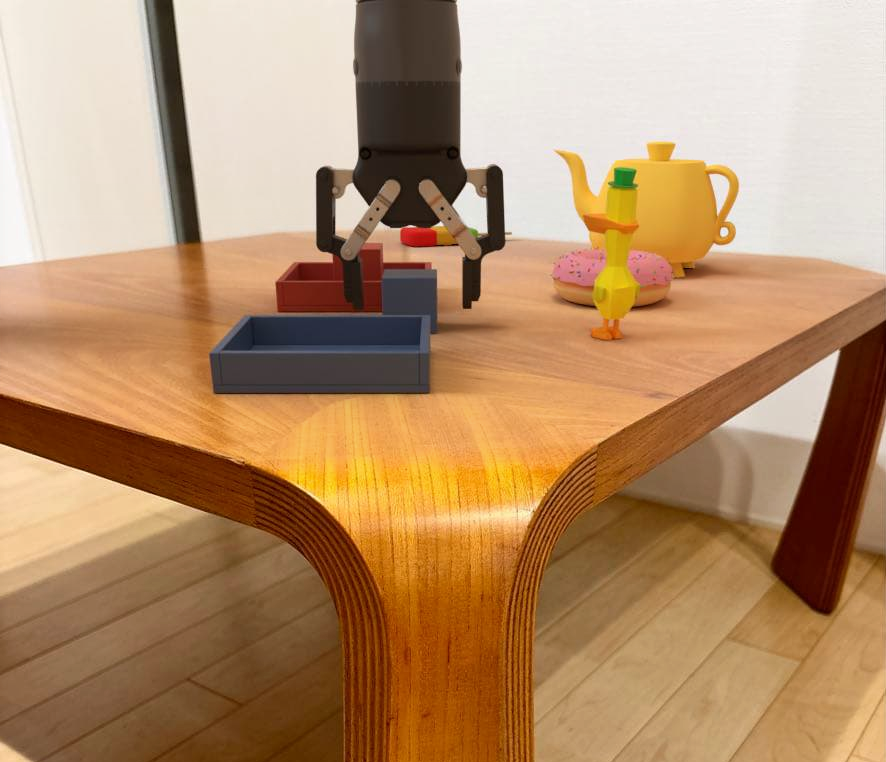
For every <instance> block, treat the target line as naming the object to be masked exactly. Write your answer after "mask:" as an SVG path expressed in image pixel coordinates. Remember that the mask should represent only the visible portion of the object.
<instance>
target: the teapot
mask: <svg viewBox="0 0 886 762" xmlns="http://www.w3.org/2000/svg"><path fill="white" fill-rule="evenodd" d="M675 148H676V143H675V142H672V141H650V142H647V143H646V149H647V154H648V157H649V158H623V159H617V160H614V162H613V163H612V164H611V166H610V168H609V169H608V171H607V173H606V177H605V178H604V181H603V183H602V185H601V187H600V190H599V192H598V195H595V194H594V193H593V192H592V191H591V188H590V186H589V183H588V178H587V170H586V166H585V163H584V161H583V159H582V158H581V156H580V155H579V154H577V153H575V152H571V151H565V150H560V149H553V151H554V152H555V153H556V154H558V155H559V156H560V157H561V158H562V159H563V160H564V162H565V163H566V164H567V166H568V169H569V171H570V176H571V185H572V196H573V197H572V198H573V204H574V207H575V212H576V213H577V215H578V217H579V218H580V220H581V221H582V223H584V217H583V215H587V214H606V202H607V190H608V189H609V188H610V187H611V185H608V182H611V181H614V168H618V167H623V168H632V169H635V170H637V172H636V175H635V178H634V181H633V183H635V184H638V187H636V189H637V190H638V193H637V205H636V217H635V219H636V221H637V222H638V224H639V228H638V229H637V230H636V231H635V232H634V233H633V237H632V242H631V247H630V250H635V251H643V252H648V251H649V253H654V254H655V253H656V254H657V255H659V256H661V257H663V258H664V259H665V260H666V259H667V258H668V260H667V261H668V262H669V263H670V266H672V267H671V268H672V270H673V272H674V273H673V275H675V276H674V278H684V277H686V273H685V271H684V269H683V268H693V269H695V268H696V265H695V264H694V261H695V262H696V261H698V260H701V259H703V258H705V257H706V255H707V254H708V253H709V251H710V250H711V249H712V247H713V245H714V244H715V245H716V246H726V245H729V244H731V243H732V242H733V241H734V240H735V238H736V234H737V229H736V225H735V224H734V223H733V222H731V221H727V218H728V216H729V214H730V212H731V210H732V208H733V207H734V205H735V202H736V199H737V197H738V194H739V191H740V181H739V178H738V175H737V174H736V173H735V172H734V171H733V170H732V169H730V168H729V167H728V166H725V165H722V164H711V165H708V166H707V164H706V162H705V160H702V159H688V158H687V159H685V158H681V159H680V158H671V157H672V155H673V152H674V150H675ZM710 175H720V176H722V177H724V178H725V179H727V181H728V184H729V188H728V192H727V196H726V198H725V200H724V203H723V205H722V207H721V209H720V211H719V213H718V206H717V200H716V195H715V191H714V187H713V183H712V179H711V176H710ZM722 228H723V229H724V228H726V229H727V232H728V233H727V235H725V236H722V235H721V230H722ZM588 237H589V242H590V244H591V246H592V250H593V249H595V248H596V249H597V247H599V248H600V249H606V245H605V234H601V233H596V232H592V231H589V230H588ZM599 248H598V249H599Z"/></svg>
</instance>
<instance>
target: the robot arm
mask: <svg viewBox="0 0 886 762" xmlns="http://www.w3.org/2000/svg"><path fill="white" fill-rule="evenodd" d="M457 2H458V0H355V3H356V4H355V21H354V33H353V55H354V58H353V62H352V70H353V75H354V78H355V79H354V80H355V81H354V83H355V101H356V102H355V107H356V130H357V161H356V165H355V166H354V169H353V168H338V167H337V168H336V167H335V168H334V167H332V166H331V165H323V166H321V167H319V168H318V170H317V171H316V173H315V237H316V238H315V244H316V248H317V250H318V251H319V252H321V253H328V254H331V255H332V254H333V255H336V256H338V257H339V258H340V259H341V261H342V265H343V283H344V297H345V299H346V302H347V303H353V309H354V310H363V308H364V290H363V266H362V258H359V251H360V249H361V248H362V246H363V245H364V244H365V243H367V241H368V239H369V238H370V237H371V236H372V234H373V232H374V230H376V228H377V227H378V225H379V224H380V223H381V224H383V225H384V226H386V227H389V229H402V228H407V227H410V226H411V227H419V228H431V227H432V226H438V224H440V223H441V224H442V226H445V228H446V229H447V230H448V232H449V233H450V234H451V236H452V237H453V238H454V239H455V241H456V242H457V243H458V245H457V246H459V247H460V249H461V250H462V252H463V253H464V256H462V259H461V261H462V262H461V263H462V264H461V267H462V268H461V275H462V276H461V280H462V282H461V292H462V293H461V307H462V310H472V308H473V303H472V302H479V300H480V298H481V296H482V295H481V292H482V261H483V258H484V257H485V256H486V255H489V254H491V253H495V252H499V251H501V250H503V249H504V247H506V235H505V232H506V223H505V222H506V221H505V219H506V218H505V195H504V193H505V191H504V189H505V188H504V172H503V169H502V168H501V167H500V166H499V165H498V164H496V163H491V164H489V165H487V166H485V167H483V166H482V167H470V168H469V167H468V168H466V167H465V165H464V164H463V161H462V157H461V154H462V153H461V150H462V149H461V139H462V138H461V137H462V133H461V131H462V130H461V128H462V127H461V121H462V120H461V117H462V115H461V111H462V109H461V107H462V106H461V104H462V103H461V102H462V101H461V100H462V98H461V97H462V96H461V95H462V94H461V93H462V92H461V90H462V87H461V84H462V81H461V80H462V79H461V78H462V77H461V76H462V71H463V64H462V63H463V62H462V53H461V52H462V47H461V45H462V43H461V32H460V23H459V15H458V14H459V13H458V4H457ZM467 183H468V184H472V186H474V189H475V193H476V194H477V196H478V197H479V198H482V199H485V204H486V207H485V208H486V228H487V229H486V230H487V232H486V233H488V234H486V235H483V236H478V238H475V237H474V235H473V234H472V233H471V231H470V230H469V228H468V227H469V226H467V224H466V223H465V221H464V220H463V218H462V217H461V215H460V214H459V212H458V211H457V210H456V208H455V207H454V206H453V205H454V203H456V201H457V199H458V197H459V196H460V194H461V193H462V191H463V190H464V189H465V187H466V185H467ZM350 184H353V186H354V188H355V189H356V191H357V192H358V193H359V195H360V196H361V198H362V199H363V201H364V202H365V203H366V205H367V206H368V208H367V210H366V211H365V213H363V216H362V217H361V218H360V220H359V221H358V223H357V224H356V225H355V227H354V229H353V230H352V232H351V233H350V234H349V236H348V238H345V237H342V236H339V235H336V228H337V227H336V223H337V222H336V217H337V215H336V207H337V206H336V205H337V204H336V202H337V201H336V200H337V199H341V198H342V197H343V196H344V195H345V193H346V188H347V186H348V185H350Z"/></svg>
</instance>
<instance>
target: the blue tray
mask: <svg viewBox="0 0 886 762" xmlns="http://www.w3.org/2000/svg"><path fill="white" fill-rule="evenodd" d="M208 357H209V366H210V372H211V373H210V374H211V383H212V392H213V394H429V393H430V392H431V390H430V389H431V333H430V315H383V314H253V315H252V314H244V315H243V316H242V317H241V318H240V319H239V320H238V322H237V323H235V325H234V326H233V327H232V328H231V329H230V330H229V331H228V332H227V333H226V334H225V335H224V336H223V338H222V339H221V340H219V342H218V343H217V344H216V345H215V346H214V347H213V348H212V349H211V350H210V351H209V353H208Z"/></svg>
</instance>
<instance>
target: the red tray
mask: <svg viewBox="0 0 886 762" xmlns="http://www.w3.org/2000/svg"><path fill="white" fill-rule="evenodd" d="M432 264H433V263H432V261H383V270H385V269H432ZM274 283H275V296H276V298H275V299H276V311H277V312H280V313H281V312H282V313H283V312H284V313H285V312H287V313H289V312H291V313H294V312H296V313H297V312H298V313H299V312H301V313H302V312H307V313H308V312H309V313H310V312H313V313H315V312H316V313H317V312H319V313H320V312H321V313H323V312H337V313H339V312H344V313H346V312H353V313H354V312H355V313H357V312H359V313H360V312H362V313H363V312H366V313H367V312H368V313H369V312H377V313H378V312H381V313H383V312H382V281H363V290H364V308H363V310H354V309H353V303H347V302H346V299H345V297H344V283H343V281H334V276H333V261H294V262H292V264H291V265H290V266H289V267H288V268H287V269H286V270H285V271H284V272H283V273H282V274H281V276H279V277H278V279H277V280H275V282H274Z"/></svg>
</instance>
